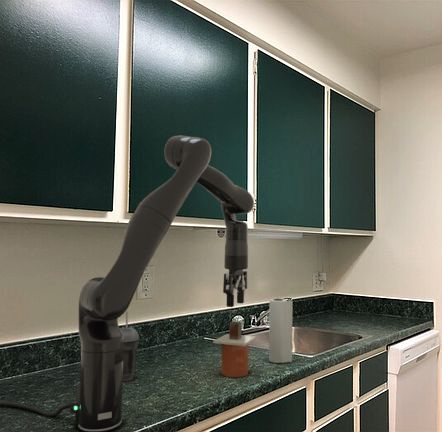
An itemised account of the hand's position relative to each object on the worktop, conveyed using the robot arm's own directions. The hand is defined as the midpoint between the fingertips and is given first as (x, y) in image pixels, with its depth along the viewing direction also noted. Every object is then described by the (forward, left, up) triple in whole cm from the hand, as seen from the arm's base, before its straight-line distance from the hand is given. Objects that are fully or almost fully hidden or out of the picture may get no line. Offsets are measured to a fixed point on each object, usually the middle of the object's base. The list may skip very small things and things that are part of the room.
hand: (235, 305), depth 144 cm
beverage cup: (-28, -18, -22) cm, 40 cm away
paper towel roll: (+9, +18, -22) cm, 30 cm away
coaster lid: (0, 0, -11) cm, 11 cm away
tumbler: (0, 0, -21) cm, 21 cm away
